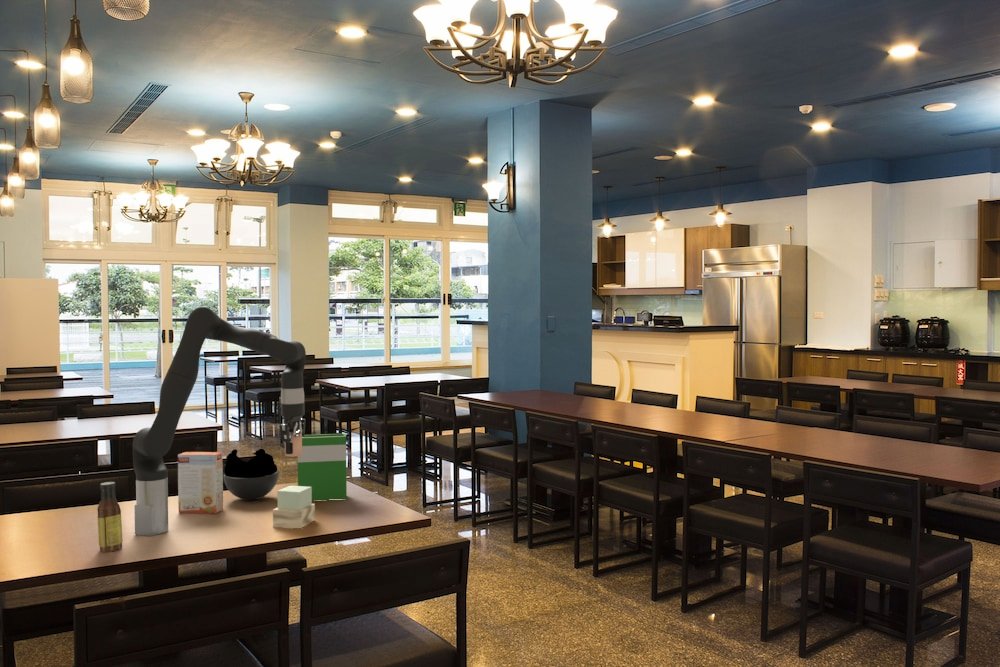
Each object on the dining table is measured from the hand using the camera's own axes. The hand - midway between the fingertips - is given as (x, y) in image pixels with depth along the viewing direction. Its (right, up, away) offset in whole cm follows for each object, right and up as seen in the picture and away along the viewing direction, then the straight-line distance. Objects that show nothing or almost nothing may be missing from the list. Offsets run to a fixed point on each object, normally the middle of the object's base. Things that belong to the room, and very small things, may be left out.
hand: (293, 452), depth 253 cm
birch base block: (0, -24, 0) cm, 24 cm away
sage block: (0, -18, 0) cm, 18 cm away
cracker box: (-37, -24, +16) cm, 47 cm away
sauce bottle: (-47, -25, -28) cm, 60 cm away
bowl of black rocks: (-25, -23, +34) cm, 48 cm away
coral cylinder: (0, -1, 0) cm, 1 cm away
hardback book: (+2, -23, +34) cm, 42 cm away
